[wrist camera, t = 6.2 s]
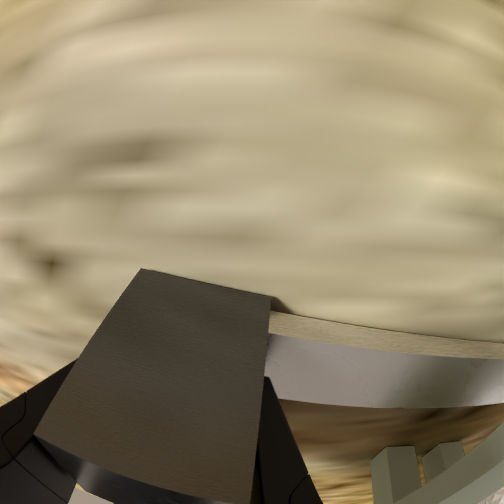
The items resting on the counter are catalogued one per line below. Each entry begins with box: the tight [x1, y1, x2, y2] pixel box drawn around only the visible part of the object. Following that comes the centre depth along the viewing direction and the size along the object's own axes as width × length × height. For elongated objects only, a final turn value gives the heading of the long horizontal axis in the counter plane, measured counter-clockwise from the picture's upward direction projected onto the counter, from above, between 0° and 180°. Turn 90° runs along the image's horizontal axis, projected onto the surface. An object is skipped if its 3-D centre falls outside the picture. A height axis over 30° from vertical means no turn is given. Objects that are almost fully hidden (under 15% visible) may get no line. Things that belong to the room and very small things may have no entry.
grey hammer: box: [34, 268, 504, 504], centre depth 7 cm, size 4×21×6 cm, turn 80°
